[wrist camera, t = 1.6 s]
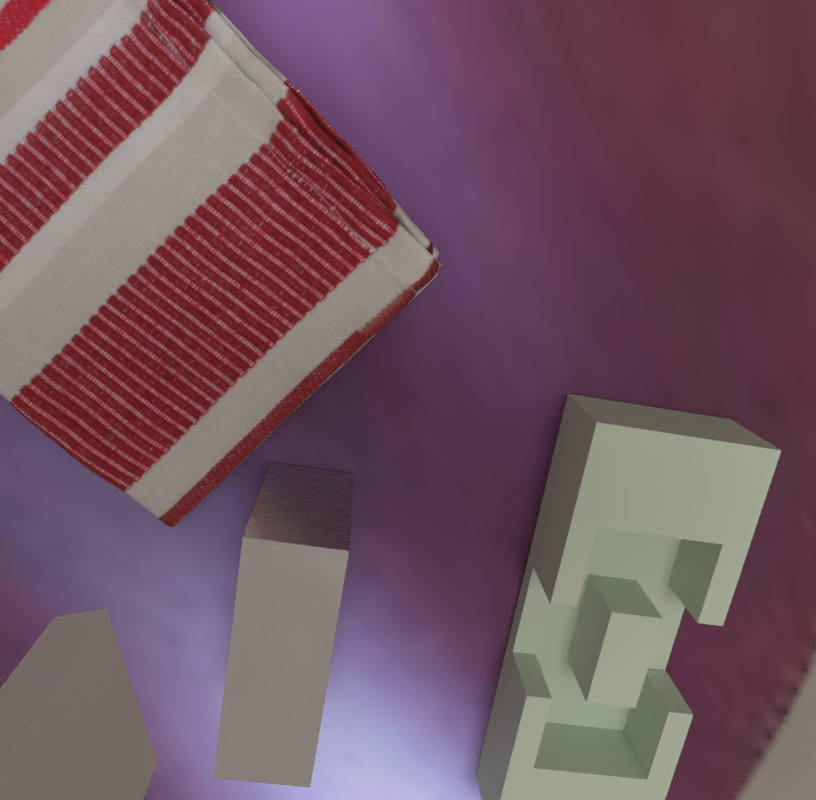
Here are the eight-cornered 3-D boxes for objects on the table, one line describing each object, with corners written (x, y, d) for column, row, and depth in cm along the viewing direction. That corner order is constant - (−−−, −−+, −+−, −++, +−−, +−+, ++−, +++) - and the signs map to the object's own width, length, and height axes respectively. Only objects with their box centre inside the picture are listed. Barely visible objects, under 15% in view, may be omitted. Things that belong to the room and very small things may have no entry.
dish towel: (-20, -263, 23) (-68, -319, 21) (452, 259, 29) (460, 266, 26) (-311, 110, 26) (-386, 100, 23) (174, 523, 32) (157, 552, 29)
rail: (616, 785, 36) (646, 855, 32) (476, 772, 35) (489, 841, 32) (730, 419, 31) (781, 450, 27) (567, 393, 30) (596, 422, 26)
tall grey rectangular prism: (321, 668, 33) (310, 787, 27) (245, 659, 33) (213, 778, 26) (353, 473, 31) (349, 551, 24) (270, 461, 30) (242, 537, 24)
